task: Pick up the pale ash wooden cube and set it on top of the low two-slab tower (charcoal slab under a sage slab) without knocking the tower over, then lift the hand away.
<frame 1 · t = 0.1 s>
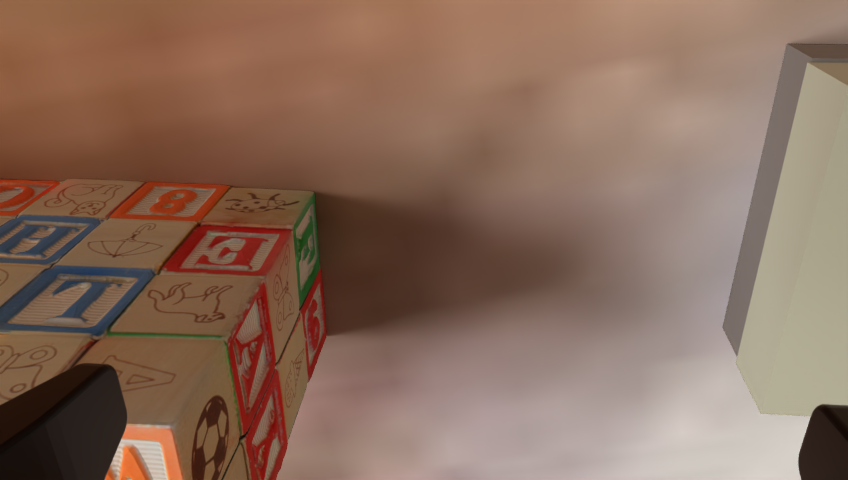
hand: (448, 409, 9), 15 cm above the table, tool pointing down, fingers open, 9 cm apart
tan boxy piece: (53, 249, 27), on the table
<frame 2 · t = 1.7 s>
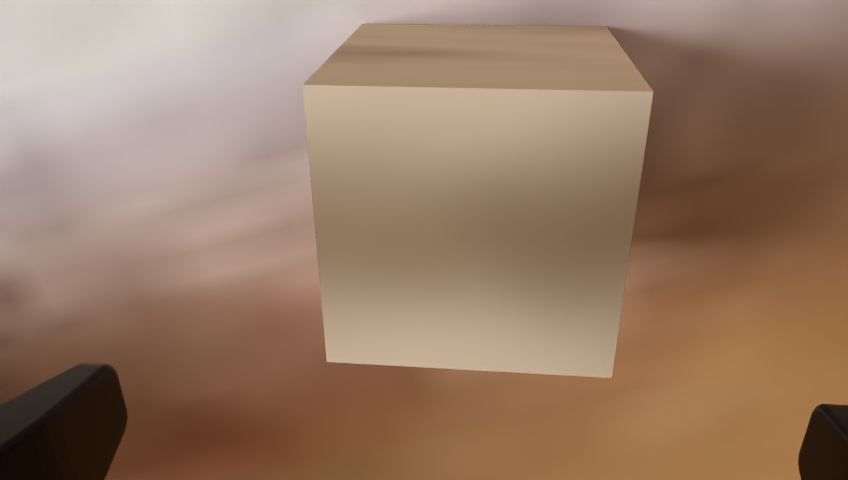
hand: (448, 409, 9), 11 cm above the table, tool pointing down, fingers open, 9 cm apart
ash cube: (479, 140, 19), on the table
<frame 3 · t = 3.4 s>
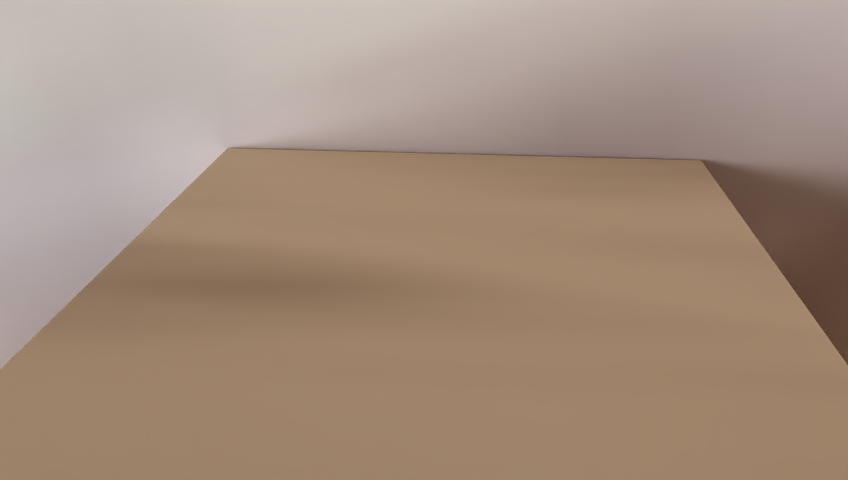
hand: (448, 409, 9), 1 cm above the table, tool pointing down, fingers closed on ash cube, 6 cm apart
ash cube: (454, 347, 10), on the table, touching gripper
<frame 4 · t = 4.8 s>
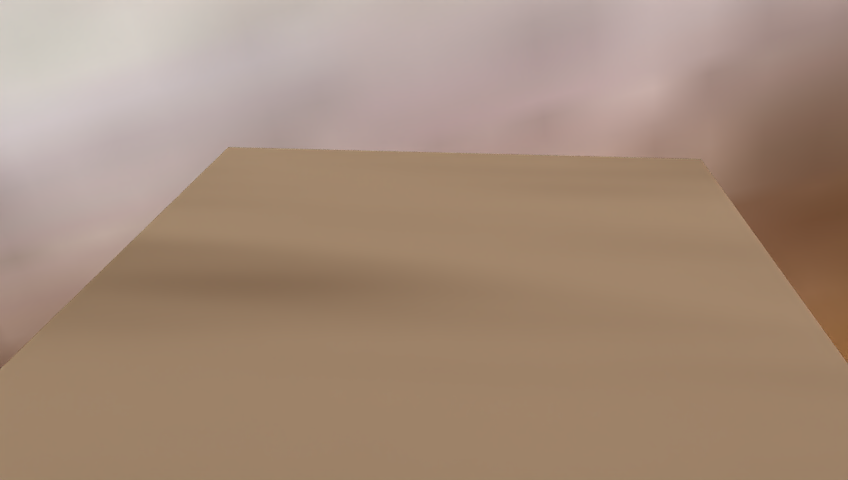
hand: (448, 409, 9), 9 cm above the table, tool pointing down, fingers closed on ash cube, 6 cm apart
ash cube: (454, 346, 10), point 7 cm above the table, touching gripper
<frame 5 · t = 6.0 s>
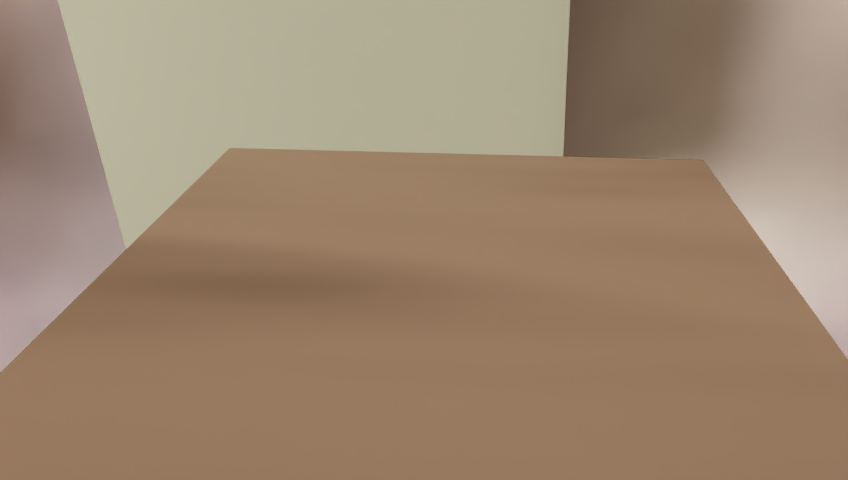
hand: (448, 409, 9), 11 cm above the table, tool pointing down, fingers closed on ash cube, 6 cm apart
tower top slab: (335, 11, 16), point 2 cm above the table, touching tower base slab
ash cube: (456, 347, 10), point 10 cm above the table, touching gripper
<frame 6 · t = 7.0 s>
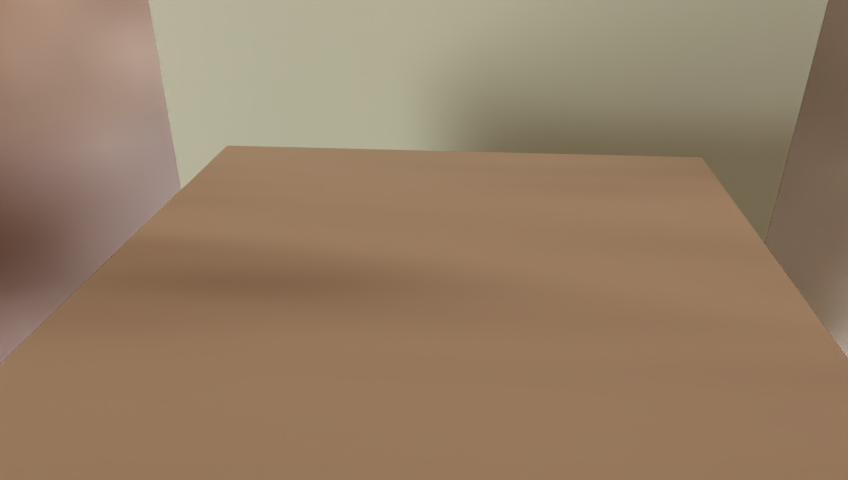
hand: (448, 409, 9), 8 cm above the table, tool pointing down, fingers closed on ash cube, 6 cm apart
tower top slab: (469, 200, 14), point 2 cm above the table, touching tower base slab
ash cube: (454, 345, 10), point 7 cm above the table, touching gripper
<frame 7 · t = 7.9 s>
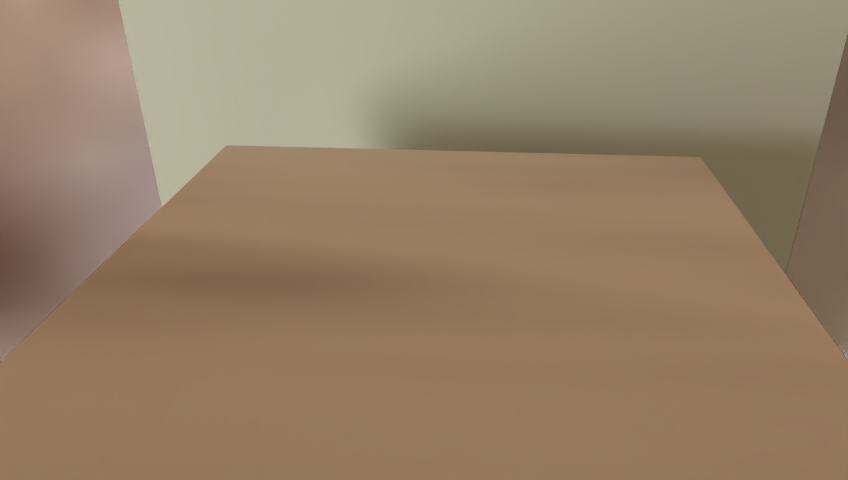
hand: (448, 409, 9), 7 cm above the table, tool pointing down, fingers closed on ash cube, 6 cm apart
tower top slab: (471, 219, 14), point 2 cm above the table
ash cube: (453, 345, 10), point 6 cm above the table, touching gripper
when the fingers open (7 cm above the table, at t = 8.0 s): ash cube drops 2 cm, resting on tower top slab.
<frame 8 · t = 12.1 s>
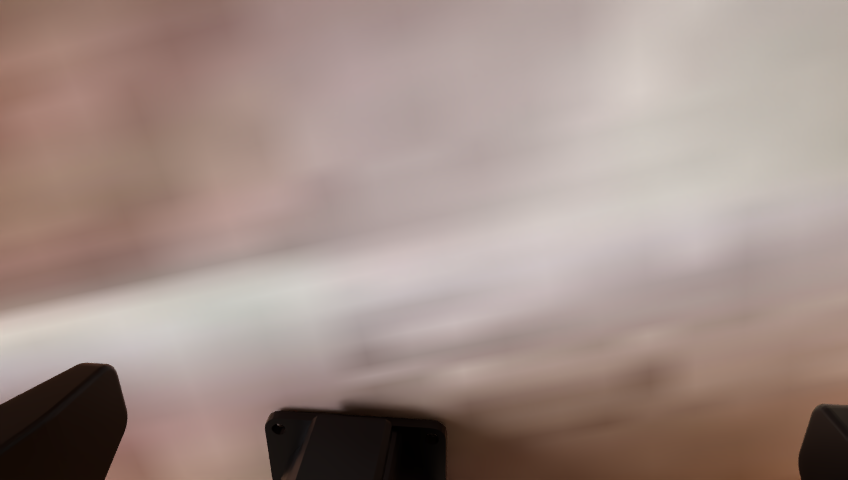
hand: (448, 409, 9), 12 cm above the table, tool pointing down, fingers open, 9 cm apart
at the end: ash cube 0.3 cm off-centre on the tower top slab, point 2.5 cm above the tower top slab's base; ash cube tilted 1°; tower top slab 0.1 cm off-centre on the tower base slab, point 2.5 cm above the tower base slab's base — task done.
